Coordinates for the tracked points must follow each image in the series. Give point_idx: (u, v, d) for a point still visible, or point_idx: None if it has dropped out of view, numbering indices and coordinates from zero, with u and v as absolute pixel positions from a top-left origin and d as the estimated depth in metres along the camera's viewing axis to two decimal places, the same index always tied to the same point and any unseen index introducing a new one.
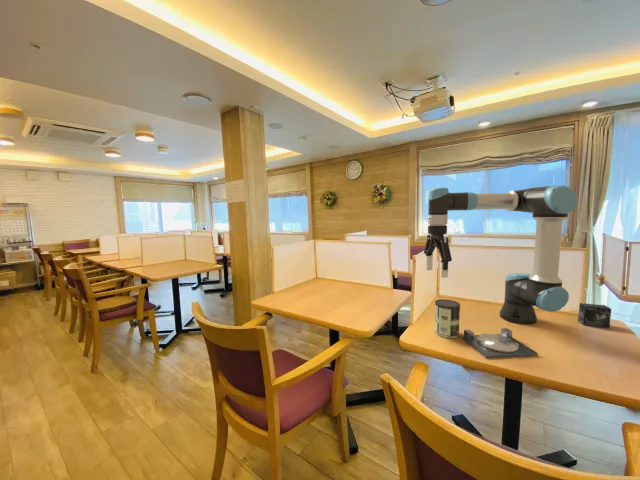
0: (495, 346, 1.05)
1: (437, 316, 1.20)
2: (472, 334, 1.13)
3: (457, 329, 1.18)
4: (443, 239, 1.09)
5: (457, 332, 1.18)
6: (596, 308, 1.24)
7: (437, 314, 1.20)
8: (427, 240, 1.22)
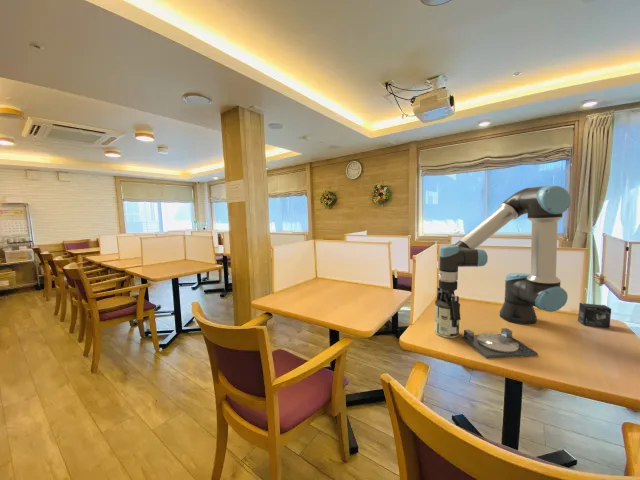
0: (495, 346, 1.05)
1: (437, 316, 1.20)
2: (472, 334, 1.13)
3: (457, 329, 1.18)
4: (454, 298, 1.13)
5: (457, 332, 1.18)
6: (596, 308, 1.24)
7: (437, 314, 1.20)
8: (438, 293, 1.26)
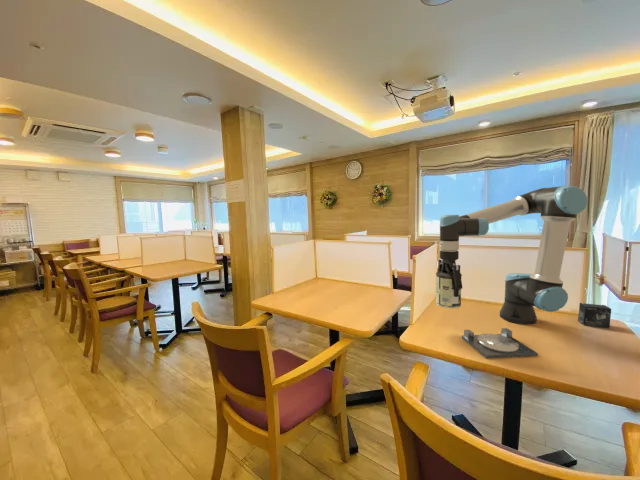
0: (495, 346, 1.05)
1: (438, 287, 1.18)
2: (472, 334, 1.13)
3: (459, 299, 1.16)
4: (455, 267, 1.12)
5: (459, 302, 1.16)
6: (596, 308, 1.24)
7: (438, 285, 1.18)
8: (439, 265, 1.25)
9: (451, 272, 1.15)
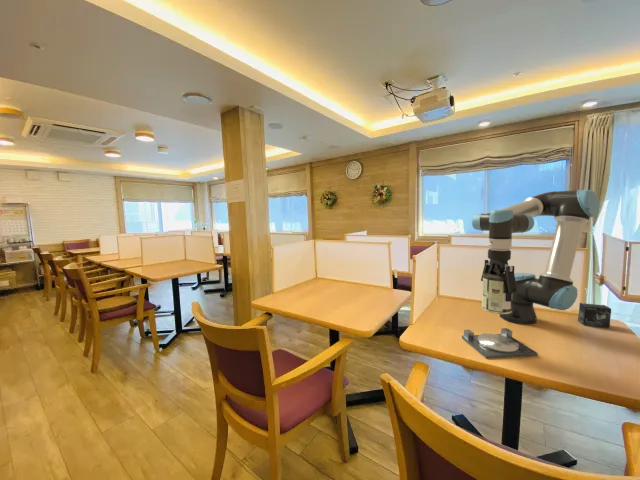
0: (495, 346, 1.05)
1: (486, 290, 1.06)
2: (472, 334, 1.13)
3: None
4: (509, 268, 0.99)
5: (510, 308, 1.04)
6: (596, 308, 1.24)
7: (486, 287, 1.06)
8: (485, 266, 1.12)
9: (502, 274, 1.03)
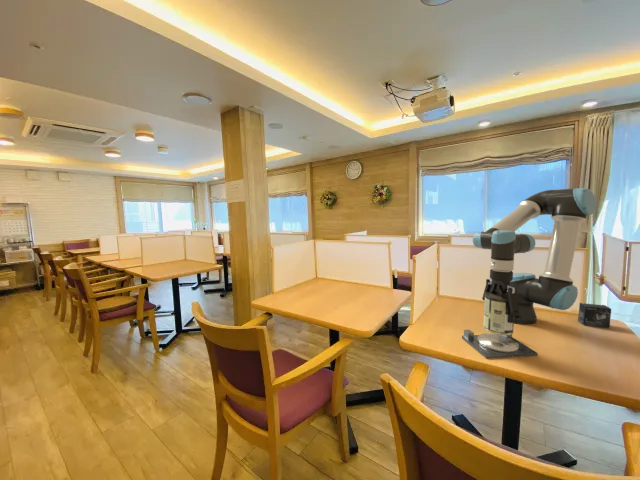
0: (495, 346, 1.05)
1: (488, 310, 1.06)
2: (472, 334, 1.13)
3: None
4: (511, 290, 1.00)
5: (512, 328, 1.04)
6: (596, 308, 1.24)
7: (488, 308, 1.06)
8: (486, 285, 1.13)
9: (504, 295, 1.03)
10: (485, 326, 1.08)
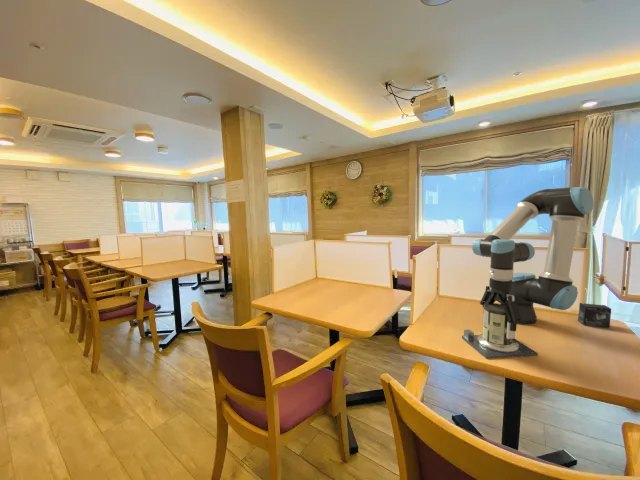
0: (495, 346, 1.05)
1: (487, 322, 1.07)
2: (472, 334, 1.13)
3: None
4: (511, 298, 1.00)
5: (511, 340, 1.05)
6: (596, 308, 1.24)
7: (487, 320, 1.07)
8: (486, 292, 1.13)
9: (505, 303, 1.03)
10: (484, 337, 1.09)
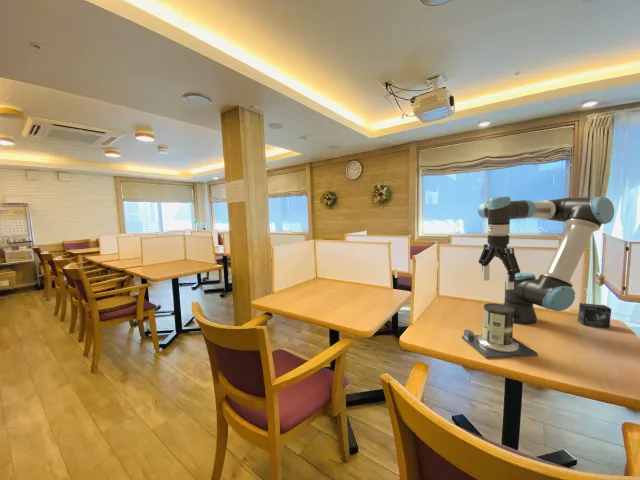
0: (495, 346, 1.05)
1: (487, 322, 1.07)
2: (472, 334, 1.13)
3: (511, 337, 1.05)
4: (509, 250, 1.05)
5: (511, 340, 1.05)
6: (596, 308, 1.24)
7: (487, 320, 1.07)
8: (484, 250, 1.18)
9: (503, 257, 1.08)
10: (484, 337, 1.09)
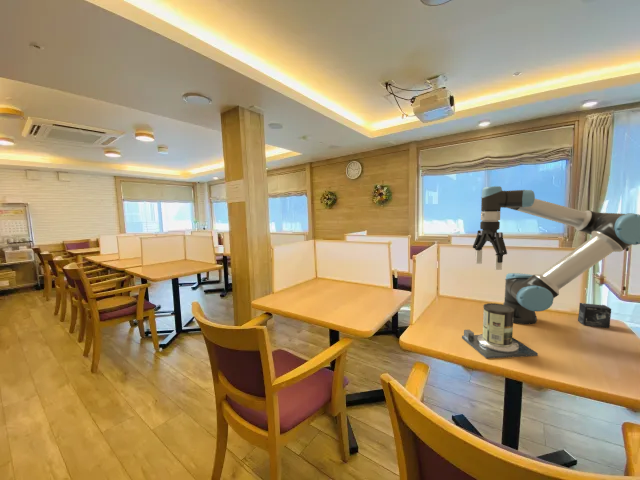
0: (495, 346, 1.05)
1: (487, 322, 1.07)
2: (472, 334, 1.13)
3: (511, 337, 1.05)
4: (498, 234, 1.17)
5: (511, 340, 1.05)
6: (596, 308, 1.24)
7: (487, 320, 1.07)
8: (477, 235, 1.31)
9: (493, 240, 1.20)
10: (484, 337, 1.09)
